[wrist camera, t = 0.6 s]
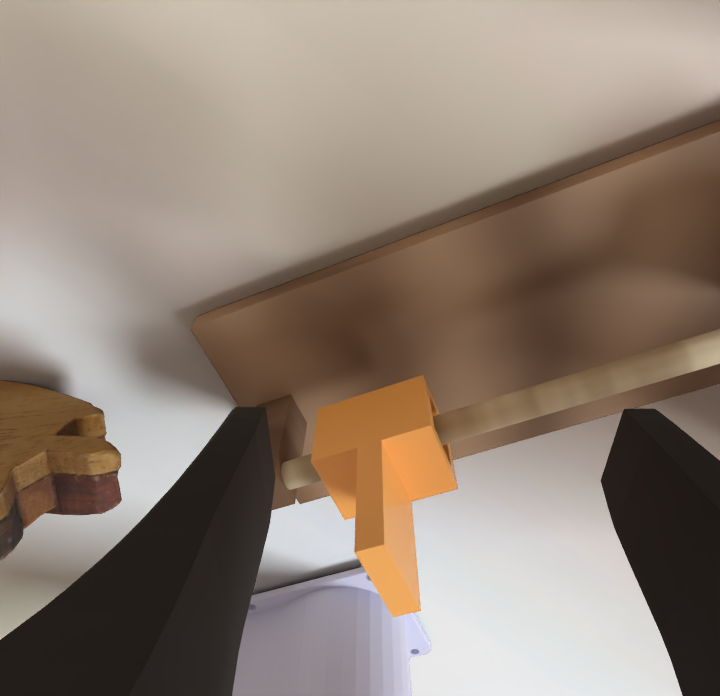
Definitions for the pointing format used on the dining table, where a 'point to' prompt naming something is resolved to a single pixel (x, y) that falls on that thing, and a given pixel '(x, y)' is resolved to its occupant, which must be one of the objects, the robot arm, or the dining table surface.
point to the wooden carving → (51, 459)
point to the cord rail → (498, 313)
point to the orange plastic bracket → (384, 478)
